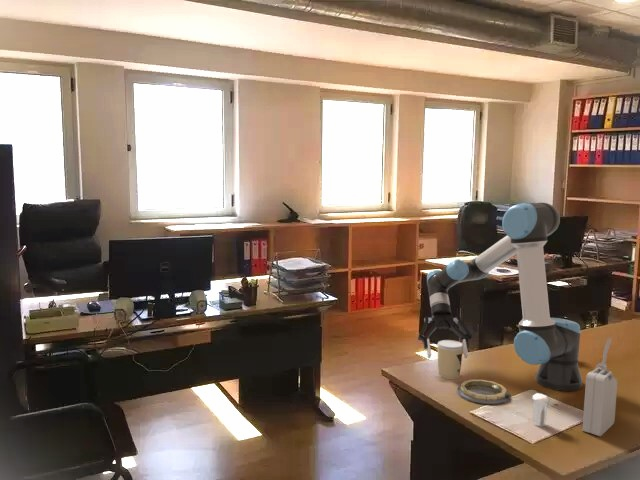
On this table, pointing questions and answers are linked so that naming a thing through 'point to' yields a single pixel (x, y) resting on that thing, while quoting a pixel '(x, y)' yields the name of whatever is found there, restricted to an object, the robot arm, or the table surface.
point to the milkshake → (539, 409)
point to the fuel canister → (600, 398)
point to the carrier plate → (483, 392)
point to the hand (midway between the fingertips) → (448, 356)
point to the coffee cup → (449, 358)
